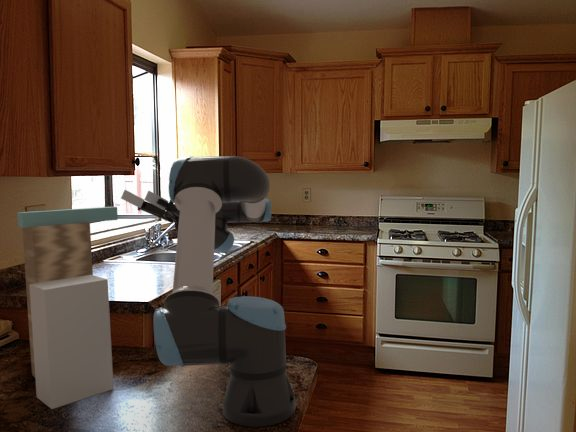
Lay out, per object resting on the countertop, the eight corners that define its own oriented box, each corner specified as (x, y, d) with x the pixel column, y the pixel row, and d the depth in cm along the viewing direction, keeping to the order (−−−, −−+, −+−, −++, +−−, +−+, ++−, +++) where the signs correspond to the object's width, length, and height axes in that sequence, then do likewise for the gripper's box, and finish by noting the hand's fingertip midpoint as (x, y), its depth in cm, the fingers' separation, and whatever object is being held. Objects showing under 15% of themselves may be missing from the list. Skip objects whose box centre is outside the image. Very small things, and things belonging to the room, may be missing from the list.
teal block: (111, 219, 141) (111, 206, 141) (117, 219, 138) (117, 207, 138) (18, 226, 124) (17, 212, 124) (23, 227, 122) (22, 212, 121)
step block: (96, 378, 126) (90, 274, 124) (113, 388, 119) (107, 279, 117) (36, 397, 116) (29, 284, 114) (51, 409, 109) (44, 289, 107)
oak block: (86, 360, 139) (78, 221, 136) (97, 366, 134) (89, 222, 131) (32, 375, 129) (22, 226, 126) (42, 382, 124) (32, 227, 121)
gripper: (211, 240, 147) (152, 208, 133) (165, 233, 164) (109, 205, 150) (221, 216, 149) (163, 183, 135) (174, 212, 166) (119, 182, 152)
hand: (134, 194), depth 143 cm, fingers open, 13 cm apart
